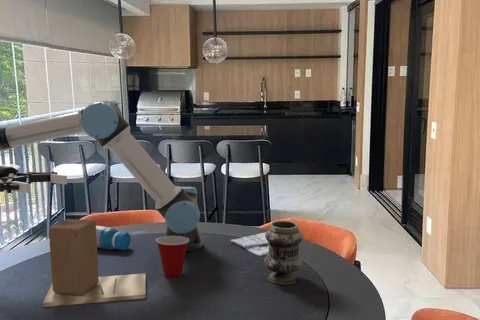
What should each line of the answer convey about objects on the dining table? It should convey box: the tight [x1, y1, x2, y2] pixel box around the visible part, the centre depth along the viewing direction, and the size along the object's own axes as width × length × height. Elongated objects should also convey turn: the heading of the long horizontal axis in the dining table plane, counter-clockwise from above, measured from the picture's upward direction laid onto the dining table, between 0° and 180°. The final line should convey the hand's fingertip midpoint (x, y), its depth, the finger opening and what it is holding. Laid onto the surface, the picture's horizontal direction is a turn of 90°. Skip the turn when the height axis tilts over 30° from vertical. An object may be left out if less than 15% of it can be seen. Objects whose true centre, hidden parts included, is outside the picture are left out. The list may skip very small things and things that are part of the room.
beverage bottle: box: [96, 224, 132, 251], centre depth 183 cm, size 8×8×20 cm
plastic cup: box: [155, 235, 189, 278], centre depth 156 cm, size 11×11×12 cm
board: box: [42, 272, 147, 308], centre depth 144 cm, size 28×16×1 cm, turn 101°
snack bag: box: [230, 231, 269, 257], centre depth 185 cm, size 19×20×2 cm
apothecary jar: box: [263, 220, 304, 285], centre depth 151 cm, size 12×12×18 cm
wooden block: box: [48, 218, 100, 295], centre depth 141 cm, size 10×10×20 cm
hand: (47, 183), depth 142 cm, fingers open, 13 cm apart
